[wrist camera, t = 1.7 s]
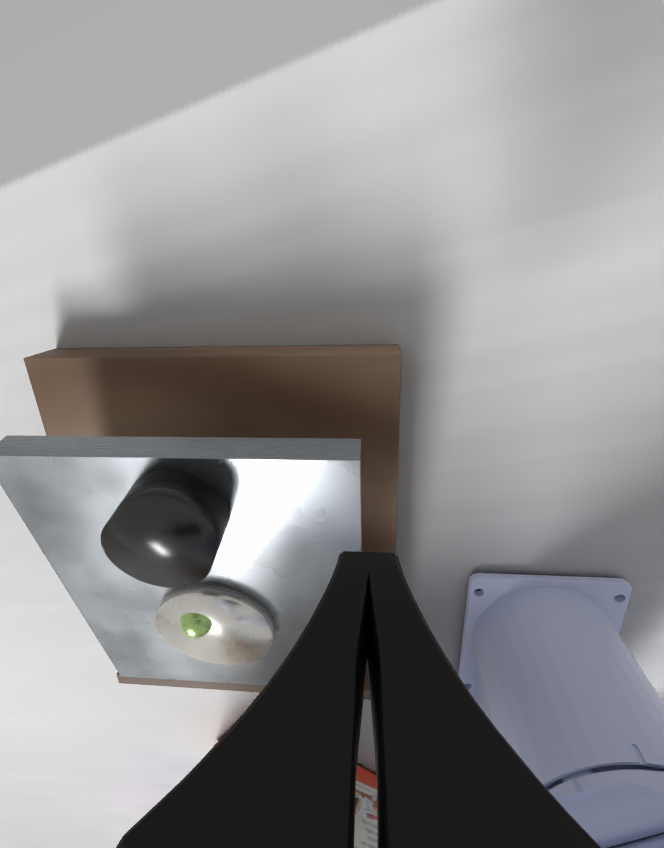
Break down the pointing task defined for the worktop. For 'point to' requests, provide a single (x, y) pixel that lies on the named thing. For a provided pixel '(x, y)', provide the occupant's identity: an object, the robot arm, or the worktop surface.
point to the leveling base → (236, 411)
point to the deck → (250, 556)
